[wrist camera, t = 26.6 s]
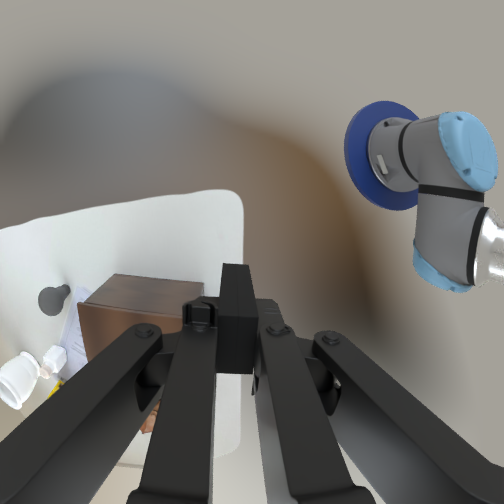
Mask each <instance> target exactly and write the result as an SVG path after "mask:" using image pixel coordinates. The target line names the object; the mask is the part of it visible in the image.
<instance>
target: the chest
mask: <svg viewBox="0 0 504 504" xmlns="http://www.w3.org/2000/svg"><path fill="white" fill-rule="evenodd" d="M203 290H204V283H200V282H189V281H178V280H168V279H158V278H149V277H139V276H131V275H122V274H114V275H113V276H112V277H110V278H109V279H108V280H107V281H106V282H105V283H104V284H103V285H102V286H101V287H99V288H98V289H97V290H96V291H95V292H94V293H93V294H92V295H91V296H90V297H89V298H88V299H87V300H86V301H84V303H88V304H94V305H101V306H107V307H114V308H121V309H128V310H135V311H143V312H151V313H160V314H169V315H178V316H182V305H183V304H184V303H185V302H188V301H191V300H195V299H196V298H198V297H199V296H203Z"/></svg>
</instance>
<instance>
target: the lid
mask: <svg viewBox="0 0 504 504" xmlns="http://www.w3.org/2000/svg"><path fill="white" fill-rule="evenodd" d="M77 308H78V315H79V321H80V326H81V332H82V337H83V342H84V347H85V351H86V356H87V360H88V362H90V361H91V360H92V359H93V358H94V357H95V356H97V355H98V354H99V353H100V352H101V351H102V350H103V349H105V348H106V347H107V346H108V345H109V344H110V343H112V342H113V341H114V340H115V339H116V338H117V337H119V336H120V335H121V334H122V333H123V332H124V331H126V330H127V329H128V328H129V327H131V326H133V325H135V324H139V323H151V324H155V325H157V326H159V327H160V328H161V330H162V334H167V333H175V332H178V331H181V329H182V326H183V323H182V316H178V315H169V314H160V313H151V312H143V311H135V310H128V309H121V308H114V307H107V306H101V305H94V304H88V303H83V302H78V303H77Z"/></svg>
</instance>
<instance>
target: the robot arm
mask: <svg viewBox="0 0 504 504" xmlns="http://www.w3.org/2000/svg"><path fill="white" fill-rule="evenodd" d="M366 156H367V161H368V164H369V167H370V169H371V172H372V173H373V175H374V177H375V178H376V179H377V181H378V182H379V183H380V184H382V185H383V186H384V187H385V188H387V189H389V190H392V191H396V192H408V191H412V190H415V189H417V188H418V206H417V220H416V232H415V238H414V240H413V246H414V253H413V265H414V267H415V270H416V272H417V273H418V274H419V275H420V276H421V277H422V278H423V279H424V280H426V281H427V282H429V283H431V284H432V285H434V286H436V287H439V288H441V289H444V290H452V291H453V292H458V293H463V292H467V291H468V290H470V289H471V287H472V286H473V285H474V286H476V287H481V286H482V285H484V284H485V283H487V282H488V281H494V282H497V283H500V284H503V285H504V222H503V221H501V220H500V218H499V217H498V215H497V213H496V211H495V210H494V209H493V208H488V207H484V203H482V202H484V192H485V191H488V190H489V189H491V188H492V187H493V186H494V184H495V179H496V178H497V174H498V160H497V154H496V150H495V146H494V143H493V141H492V139H491V136H490V135H489V133H488V132H487V130H486V128H485V126H484V125H483V124H482V123H481V122H480V121H479V120H478V119H477V118H476V117H475V116H473V115H472V114H469V113H467V112H445V113H442V114H440V115H436V116H431V117H427V118H424V119H419V120H415V121H411V120H407V119H403V118H398V117H391V118H387V119H384V120H381V121H379V122H378V123H376V124H375V125H374V126H373V128H372V129H371V131H370V132H369V135H368V138H367V142H366ZM421 193H422V194H421ZM430 194H431V195H430ZM437 195H439V196H437ZM444 196H446V197H444ZM451 197H453V198H451ZM464 199H465V200H464ZM182 323H183V326H182V329H181V331H178V332H175V333H167V334H162V330H161V328H160V327H159V326H157V325H155V324H151V323H139V324H135V325H133V326H131V327H129V328H128V329H127V330H126V331H124V332H123V333H122V334H121V335H120V336H119V337H117V338H116V339H115V340H114V341H113V342H112V343H110V344H109V345H108V346H107V347H106V348H105V349H103V350H102V351H101V352H100V353H99V354H98V355H97V356H95V357H94V358H93V359H92V360H91V361H90V362H88V363H87V364H86V365H85V366H84V367H83V368H82V369H81V370H79V371H78V372H77V373H76V374H75V375H74V376H73V377H71V378H70V379H69V380H68V381H67V382H66V383H65V384H64V385H62V386H61V387H60V388H59V389H58V390H57V391H56V392H55V393H53V394H52V395H51V396H50V397H49V398H48V399H47V400H46V401H45V402H44V403H42V404H41V405H40V406H39V407H38V408H37V409H36V410H35V411H34V412H33V413H31V414H30V415H29V416H28V417H27V418H26V419H25V420H24V421H23V422H22V423H21V424H20V425H19V426H17V427H16V428H15V429H14V430H13V431H12V432H11V433H10V434H9V435H8V436H7V437H6V438H5V439H4V440H3V441H1V442H0V504H89V503H90V501H91V500H92V498H93V497H94V496H95V494H96V493H97V491H98V490H99V488H100V487H101V485H102V484H103V482H104V481H105V479H106V478H107V477H108V475H109V473H110V472H111V471H112V469H113V468H114V466H115V465H116V463H117V462H118V460H119V459H120V457H121V456H122V455H123V453H124V452H125V450H126V449H127V447H128V446H129V444H130V443H131V441H132V440H133V438H134V437H135V435H136V434H137V432H138V431H139V429H140V428H141V426H142V425H143V424H144V422H145V421H146V419H147V418H148V416H149V415H150V413H151V412H152V410H153V409H154V407H155V406H156V404H157V403H158V401H159V400H160V398H161V400H160V404H159V408H158V411H157V415H156V419H155V423H154V427H153V431H152V435H151V439H150V443H149V447H148V451H147V455H146V459H145V463H144V468H143V472H142V477H141V481H140V485H139V487H138V489H136V490H133V491H132V492H131V493H130V495H129V496H128V500H127V502H126V504H212V493H213V491H212V490H213V489H212V488H213V448H214V420H215V397H216V373H227V374H253V366H254V378H253V386H252V395H255V404H256V413H257V422H258V430H259V438H260V447H261V455H262V463H263V471H264V479H265V487H266V494H267V503H268V504H376V502H375V500H374V497H373V496H372V494H371V492H370V491H369V490H368V489H367V488H366V487H362V486H356V485H355V484H354V483H353V481H352V479H351V477H350V474H349V472H348V469H347V466H346V464H345V461H344V458H343V456H342V453H341V450H340V448H339V445H338V443H339V444H340V445H341V447H342V448H343V449H344V451H345V452H346V453H347V455H348V456H349V457H350V459H351V460H352V461H353V463H354V464H355V465H356V466H357V468H358V469H359V470H360V472H361V473H362V474H363V475H364V477H365V478H366V479H367V481H368V482H369V483H370V484H371V486H372V487H373V488H374V489H375V491H376V492H377V493H378V494H379V496H380V497H381V498H382V499H383V500H384V502H385V503H386V504H504V468H503V467H501V466H498V465H495V464H493V463H491V462H489V461H488V460H487V459H486V458H484V457H483V456H482V455H481V454H480V453H479V452H478V451H477V450H475V449H474V448H473V447H472V446H471V445H470V444H468V443H467V442H466V441H465V440H464V439H463V438H461V437H460V436H459V435H458V434H457V433H456V432H454V431H453V430H452V429H451V428H450V427H449V426H447V425H446V424H445V423H444V422H443V421H442V420H441V419H439V418H438V417H437V416H436V415H435V414H434V413H432V412H431V411H430V410H429V409H428V408H427V407H426V406H424V405H423V404H422V403H421V402H420V401H419V400H417V399H416V398H415V397H414V396H413V395H412V394H411V393H409V392H408V391H407V390H406V389H405V388H403V387H402V386H401V385H400V384H399V383H398V382H397V381H396V380H394V379H393V378H392V377H391V376H390V375H389V374H387V373H386V372H385V371H384V370H383V369H382V368H381V367H379V366H378V365H377V364H376V363H375V362H374V361H372V360H371V359H370V358H369V357H368V356H367V355H366V354H364V353H363V352H362V351H361V350H360V349H359V348H358V347H356V346H355V345H354V344H353V343H352V342H351V341H350V340H348V339H347V338H346V337H345V336H343V335H342V334H340V333H337V332H335V331H321V332H318V333H316V334H315V335H314V340H308V339H303V338H299V337H296V336H295V333H294V331H293V329H292V328H291V327H289V326H288V325H286V324H285V323H284V320H283V318H282V315H281V312H280V310H279V307H278V304H277V303H276V302H275V301H273V300H272V299H255V295H254V290H253V285H252V280H251V275H250V270H249V266H248V265H242V264H226V263H223V268H222V277H221V286H220V295H219V297H208V296H199V297H198V298H196V299H195V300H191V301H188V302H185V303H184V304H183V305H182ZM337 380H338V381H339V382H340V384H341V386H339V385H337V383H336V381H337ZM337 442H338V443H337Z"/></svg>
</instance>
